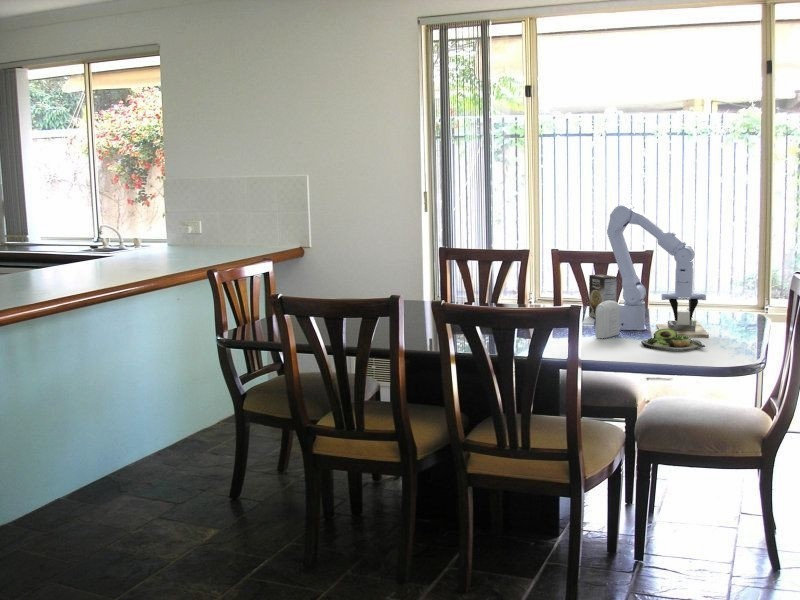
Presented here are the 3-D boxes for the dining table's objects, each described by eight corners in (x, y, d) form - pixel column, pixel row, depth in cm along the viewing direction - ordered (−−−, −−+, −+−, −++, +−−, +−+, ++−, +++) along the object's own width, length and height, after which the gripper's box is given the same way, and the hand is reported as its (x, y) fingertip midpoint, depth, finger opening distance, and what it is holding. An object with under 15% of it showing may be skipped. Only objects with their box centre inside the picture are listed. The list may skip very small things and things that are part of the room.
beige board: (662, 337, 294) (662, 328, 294) (652, 320, 323) (653, 312, 323) (708, 337, 291) (708, 328, 291) (695, 321, 320) (695, 313, 320)
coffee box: (588, 316, 336) (588, 274, 334) (601, 314, 339) (602, 273, 336) (603, 319, 328) (603, 277, 325) (616, 318, 330) (617, 276, 328)
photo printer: (610, 333, 302) (610, 298, 300) (621, 335, 299) (621, 299, 297) (593, 338, 295) (593, 302, 293) (604, 339, 292) (604, 303, 290)
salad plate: (719, 347, 277) (719, 333, 276) (685, 356, 267) (686, 341, 266) (667, 339, 292) (668, 325, 292) (634, 346, 282) (634, 332, 281)
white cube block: (677, 326, 301) (677, 311, 300) (675, 323, 305) (676, 309, 304) (689, 326, 300) (689, 311, 299) (687, 324, 304) (688, 309, 303)
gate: (692, 326, 305) (692, 315, 304) (686, 319, 318) (687, 308, 318) (696, 326, 305) (696, 315, 304) (690, 319, 318) (690, 308, 318)
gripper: (704, 279, 302) (703, 318, 304) (660, 280, 305) (659, 318, 307) (707, 282, 295) (706, 322, 297) (663, 282, 298) (662, 321, 300)
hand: (682, 320), depth 302 cm, fingers closed on white cube block, 4 cm apart
